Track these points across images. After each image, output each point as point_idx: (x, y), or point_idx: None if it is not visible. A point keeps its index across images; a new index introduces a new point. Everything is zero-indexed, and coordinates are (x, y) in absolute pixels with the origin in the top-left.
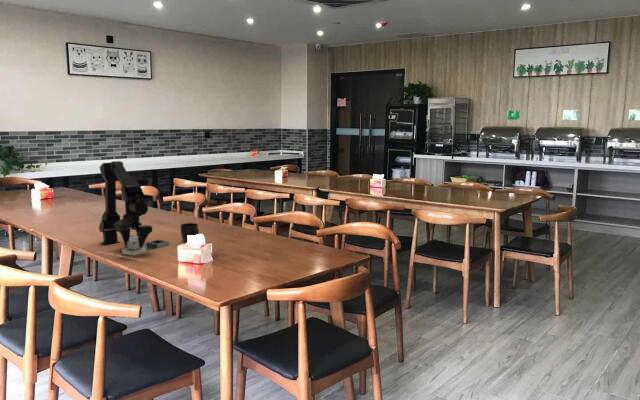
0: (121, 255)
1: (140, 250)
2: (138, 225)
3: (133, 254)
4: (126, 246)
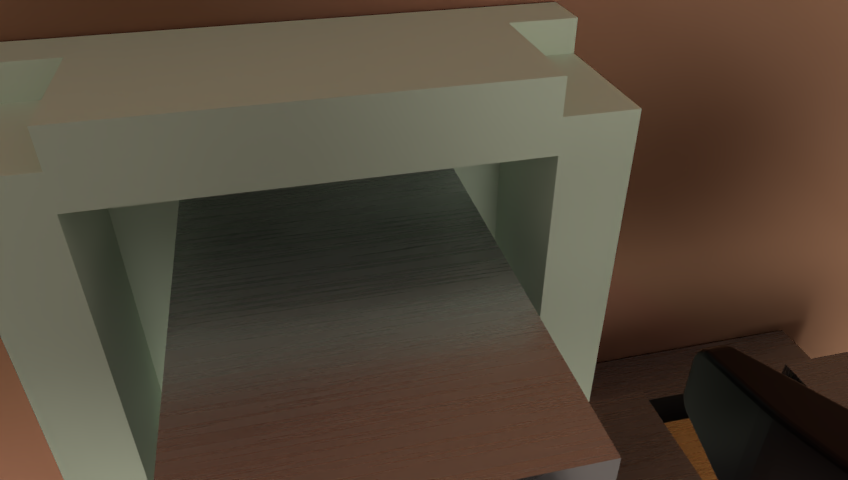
0: (551, 3)
1: (49, 423)
2: None
3: None
4: None
